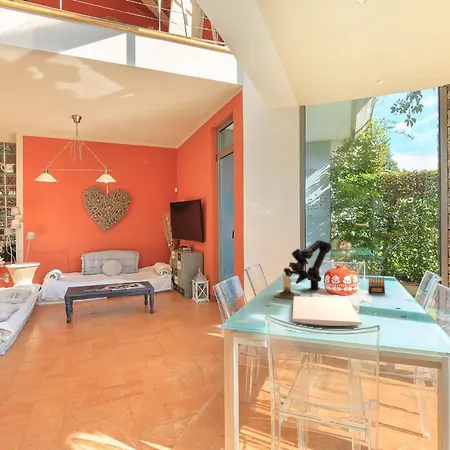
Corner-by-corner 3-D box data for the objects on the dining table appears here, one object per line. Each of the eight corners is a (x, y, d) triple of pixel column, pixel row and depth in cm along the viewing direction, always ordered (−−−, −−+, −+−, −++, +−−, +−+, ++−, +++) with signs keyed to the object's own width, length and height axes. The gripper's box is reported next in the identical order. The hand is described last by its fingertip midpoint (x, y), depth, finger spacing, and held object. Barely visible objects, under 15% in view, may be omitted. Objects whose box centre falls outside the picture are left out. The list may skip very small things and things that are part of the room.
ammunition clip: (368, 293, 227) (368, 276, 227) (368, 292, 229) (368, 275, 229) (385, 293, 226) (385, 276, 225) (384, 293, 228) (384, 276, 227)
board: (294, 303, 206) (294, 296, 205) (347, 305, 198) (347, 298, 198) (292, 327, 162) (292, 318, 162) (361, 331, 154) (361, 322, 154)
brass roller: (289, 293, 227) (289, 275, 226) (291, 295, 222) (291, 276, 221) (282, 294, 226) (282, 275, 225) (284, 295, 221) (284, 276, 221)
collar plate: (280, 292, 233) (280, 289, 233) (300, 294, 226) (300, 291, 226) (273, 297, 221) (273, 293, 221) (293, 299, 214) (293, 296, 214)
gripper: (284, 256, 236) (275, 274, 230) (306, 259, 222) (296, 277, 215) (291, 266, 242) (282, 283, 235) (313, 269, 227) (303, 287, 221)
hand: (290, 282), depth 226 cm, fingers open, 9 cm apart
